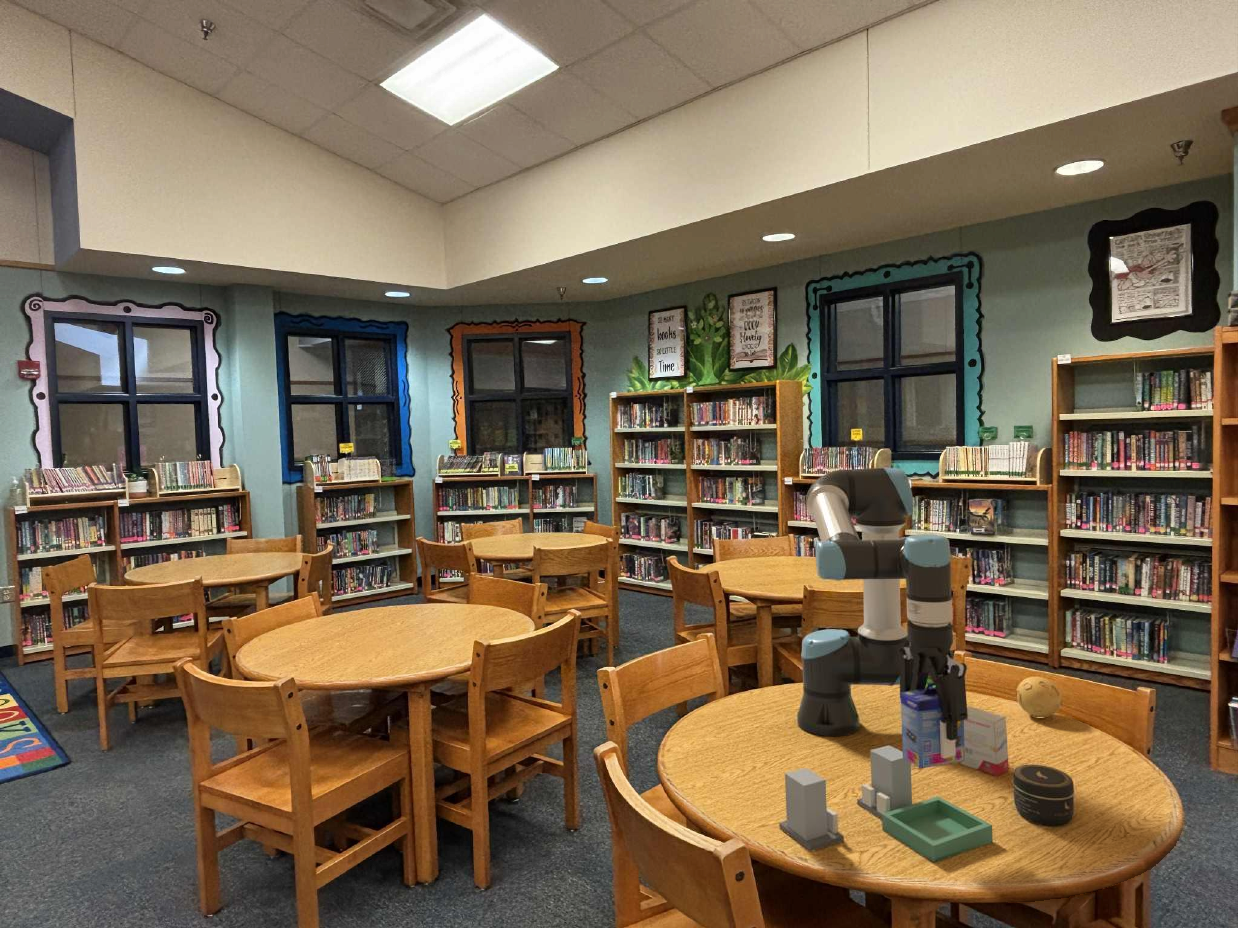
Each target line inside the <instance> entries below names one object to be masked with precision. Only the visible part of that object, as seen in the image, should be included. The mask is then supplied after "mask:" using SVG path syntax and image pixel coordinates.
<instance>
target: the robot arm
mask: <svg viewBox="0 0 1238 928" xmlns="http://www.w3.org/2000/svg"><path fill="white" fill-rule="evenodd" d="M912 491H913V490H912V488H911V483H910V481H909V478H908V476H907V474H906V472H905V471H904V470H903V469H901V468H897V467H867V468H852V469H851V468H850V469H844V468H843V469H837V470H832V471H829V472H827V473H824V474H823V475H822V476H820V477H819V478H818V479H816V480H815V481H814V482H813V483H812V485H811V486H810V488H809V489H808V491H807V494H806V497H805V498H806V499H805V505H806V509H807V513H808V514H809V516H810V517H811V518H812V519H813V520H814V521H815V524H816V528H817V533H818V535H819V538H820V541H819V542H818V543H817V544H815V545H816V546H815V566H816V574H817V576H818V578H820V579H822V580H835V581H837V582H838V581H842V580H843V581H849V580H852V581H853V580H862V583H863V585H862V587H863V590H862V591H863V624H862V625H860V626H859V627H858V628H857V636H851V635H850V633H849V632H848V631H847V630H844V629H837V628H836V629H835V628H833V629H832V628H829V629H822V630H821V629H820V630H818V631H814V632H810V633H808V634H807V635H805V637H804V638H803V639H802V642H801V654H800V657H801V659H802V660H801V661H802V689H803V693H802V697H801V700H800V705H799V709H798V711H797V715H796V716H797V717H796V719H797V720H796V721H797V725H798V727H799V726H800V727H799V728H800V729H802V730H804V731H806V732H807V733H810V734H811V733H812V734H814V735H820V736H827V737H838V736H839V737H840V736H848V735H851V734H854V733H855V732H858V730H859V729H860V716H859V714H858V711H857V707H856V704H855V703H854V699H853V696H852V686H857V685H859V686H866V685H867V686H889V687H893V686H899V694H900V693H902V692H907V691H913V690H917V689H919V690H923V689H925V688H926V683H927V679H929V678H928V677H929V676H930V679H931V682H932V683H935V686H936V690H937V694H938V698H939V702H940V706H941V710H942V714H943V718H944V719H941V720H940V743H941V757H942V758H948V757H951V756H955V755H956V750H955V739H957V737H958V728H957V722H958V721H962V720H966V719H967V718H968V714H967V707H968V703H967V688H966V673H967V669H968V666H967V664H966V663H965V662H961V663H959V662H958V661H957V660H955V659H954V658H953V655H952V652H951V647H952V646H953V644H954V633H953V632H954V631H953V630H954V629H953V626H954V625H953V624H952V623H951V622H952V621H953V619H954V618H953V604H952V603H953V602H952V601H953V600H952V569H951V568H952V567H951V565H952V564H951V561H952V554H951V549H950V548H951V547H950V540H949V539H948V538H947V537H946V536H945V535H944V536H943V535H938V534H931V533H930V534H928V533H927V534H923V533H922V534H913V535H909V536H904V537H901V538H900V530H901V529H903V527H904V526H905V525H906V520H907V519H906V517H910V516H912V514H914V498H913V492H912ZM852 518H854V522H855V525H856V526H857V527H858V528H859V529H861V538H862V539H860V537H859V534H858V532H857V530H856V528H855V525H854V522H853V519H852ZM901 580H905V589H906V590H905V591H906V594H905V595H906V617H907V620H909V621H908V622H907V623H906V624H907V625H906V626H907V628H904V626H902V623H901ZM906 629H907V630H906ZM899 698H900V700H901V696H900V695H899ZM950 713H951V714H950Z"/></svg>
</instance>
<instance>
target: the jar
mask: <svg viewBox="0 0 1238 928" xmlns="http://www.w3.org/2000/svg"><path fill="white" fill-rule="evenodd" d="M1012 778H1013V779H1012V786H1013V802H1014V806H1015V809H1016V810H1017V812H1018V814H1019V815H1020V816H1021V817H1022V818H1024V819H1025V820H1027V821H1028V822H1032V823H1034V824H1036V825H1040V826H1044V827H1057V828H1058V827H1063V826H1066V825H1069V823H1070V822H1071V821H1072V820H1073V818H1074V813H1075V800H1074V799H1075V798H1074V797H1075V796H1074V795H1075V787H1074V780H1073V778H1072V777H1071V776H1070V775H1069V774H1068V773H1066V772H1064V771H1063V770H1060V769H1057V768H1055V767H1052V766H1049V765H1048V766H1047V765H1044V764H1043V765H1041V764H1023V765H1020V766H1016V767H1015V768H1014V770H1013V772H1012Z"/></svg>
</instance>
